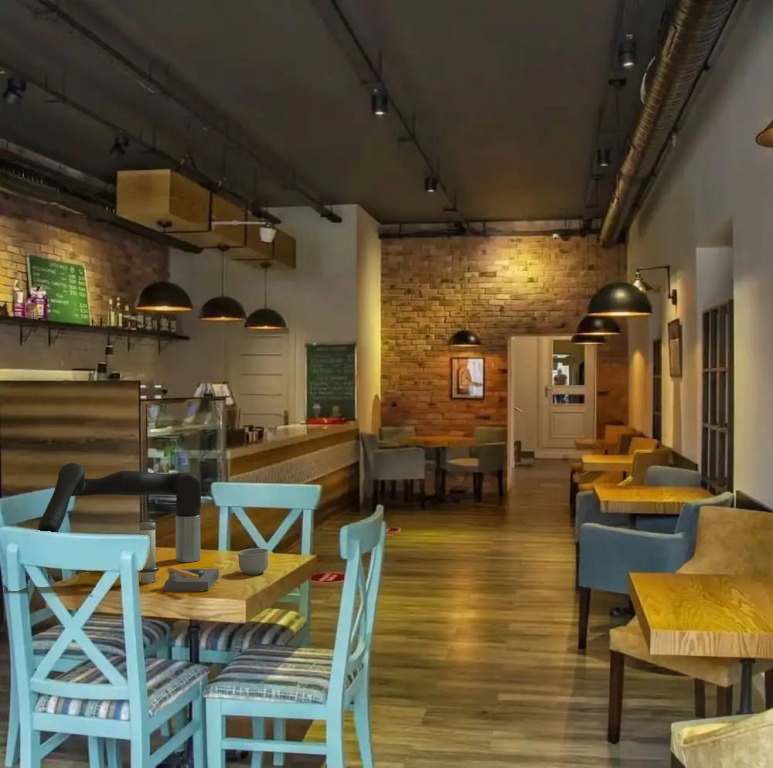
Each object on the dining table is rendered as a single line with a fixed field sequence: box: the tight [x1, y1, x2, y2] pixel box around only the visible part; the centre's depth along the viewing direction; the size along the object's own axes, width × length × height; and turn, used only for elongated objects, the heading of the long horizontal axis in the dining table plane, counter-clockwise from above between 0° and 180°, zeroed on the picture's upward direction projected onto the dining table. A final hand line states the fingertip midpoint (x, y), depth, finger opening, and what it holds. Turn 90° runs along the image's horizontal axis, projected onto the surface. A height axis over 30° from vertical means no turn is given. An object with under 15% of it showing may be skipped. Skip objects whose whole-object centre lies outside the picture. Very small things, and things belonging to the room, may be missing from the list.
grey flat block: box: [164, 568, 220, 592], centre depth 292 cm, size 20×14×5 cm
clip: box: [166, 566, 199, 580], centre depth 283 cm, size 3×18×1 cm, turn 42°
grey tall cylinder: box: [138, 521, 160, 584], centre depth 296 cm, size 8×8×20 cm
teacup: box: [237, 547, 269, 576], centre depth 310 cm, size 14×11×8 cm
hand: (136, 545), depth 295 cm, fingers open, 8 cm apart
